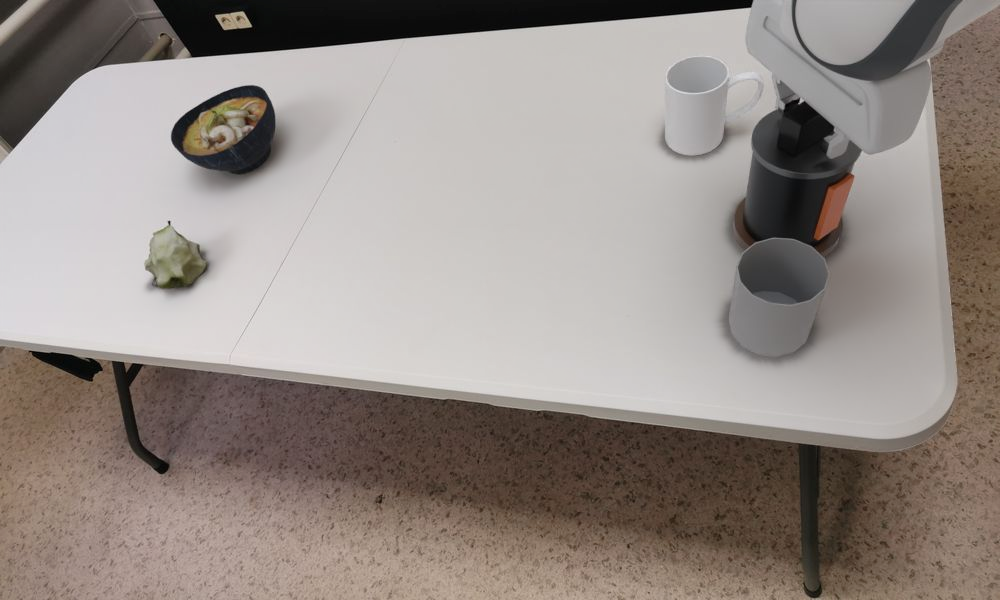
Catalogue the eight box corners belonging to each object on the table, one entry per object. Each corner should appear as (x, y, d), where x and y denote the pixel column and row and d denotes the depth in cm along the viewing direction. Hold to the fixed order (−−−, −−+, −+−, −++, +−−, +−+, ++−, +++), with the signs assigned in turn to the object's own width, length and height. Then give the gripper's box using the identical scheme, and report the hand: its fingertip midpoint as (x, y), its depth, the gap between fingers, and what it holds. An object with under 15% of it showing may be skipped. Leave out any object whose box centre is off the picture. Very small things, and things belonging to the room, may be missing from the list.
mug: (664, 158, 86) (664, 96, 78) (665, 120, 90) (665, 58, 82) (757, 153, 83) (768, 88, 74) (754, 114, 87) (763, 49, 79)
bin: (858, 221, 72) (902, 103, 58) (789, 269, 70) (819, 159, 56) (785, 174, 78) (810, 58, 64) (721, 218, 76) (733, 108, 63)
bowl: (202, 146, 113) (167, 102, 105) (289, 112, 113) (261, 65, 105) (203, 206, 103) (165, 162, 95) (299, 169, 103) (268, 121, 95)
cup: (810, 297, 69) (829, 241, 61) (810, 361, 65) (830, 309, 57) (731, 290, 72) (739, 235, 64) (725, 351, 68) (733, 300, 60)
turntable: (848, 201, 75) (851, 193, 74) (829, 277, 70) (832, 269, 69) (746, 185, 80) (748, 176, 79) (721, 254, 75) (722, 246, 74)
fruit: (182, 252, 99) (159, 213, 93) (226, 266, 96) (206, 226, 91) (138, 291, 94) (111, 252, 88) (185, 306, 91) (160, 267, 85)
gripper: (736, -33, 58) (725, 89, 69) (888, 78, 46) (845, 205, 57) (796, -58, 58) (776, 68, 69) (964, 46, 46) (906, 179, 57)
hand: (808, 131), depth 63 cm, fingers open, 6 cm apart
